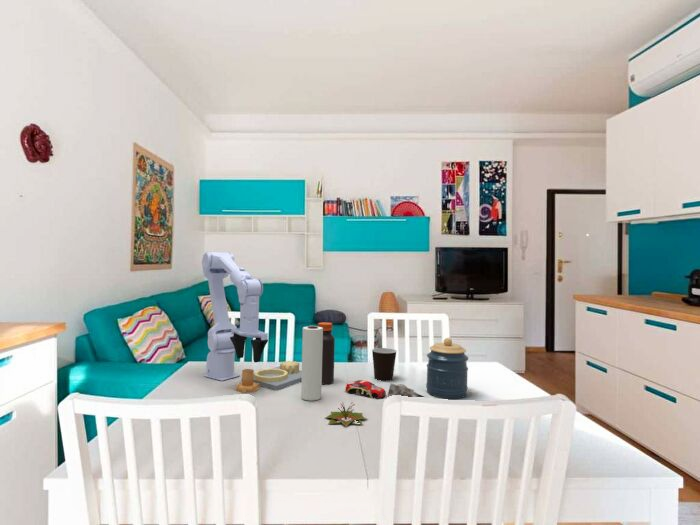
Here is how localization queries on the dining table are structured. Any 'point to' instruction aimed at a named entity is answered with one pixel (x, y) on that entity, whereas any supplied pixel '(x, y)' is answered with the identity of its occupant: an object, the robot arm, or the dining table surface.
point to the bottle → (327, 353)
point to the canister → (447, 370)
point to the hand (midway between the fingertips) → (248, 359)
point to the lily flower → (345, 414)
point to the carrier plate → (282, 383)
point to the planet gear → (247, 382)
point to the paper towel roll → (312, 363)
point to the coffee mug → (383, 363)
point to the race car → (365, 389)
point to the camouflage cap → (402, 391)
